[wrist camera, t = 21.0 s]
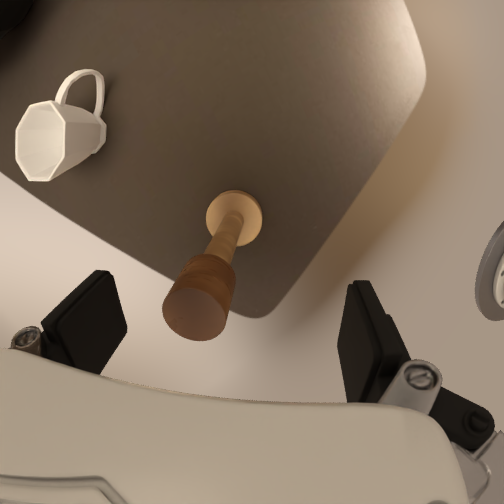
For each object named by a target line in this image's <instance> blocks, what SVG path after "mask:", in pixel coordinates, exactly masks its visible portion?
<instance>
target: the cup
mask: <svg viewBox="0 0 504 504" xmlns="http://www.w3.org/2000/svg"><path fill="white" fill-rule="evenodd" d="M89 74H93V75H94V76H95V77H96V83H97V101H96V108H95V111H94V113H93V114H92V113H90V112H88V111H86V110H84V109H82V108H79V107H75V106H71V105H67V104H65V100H66V96H67V93H68V89H69V87H70V86H71V85H72V83H73V82H75V81H76V80H77V79H79V78H80V77H81V76H84V75H89ZM103 104H104V79H103V76H102V75H101V74H100V73H99V72H98V71H95V70H91V69H83V70H79V71H75V72H74V73H73V74H71V75H70V76H68V77H67V78H66V79H65V80H64V82H63V83H62V85H61V86H60V88H59V91H58V93H57V95H56V98H55V101H51V100H50V101H46V102H41V103H36V104H32V105H29V107H28V109H27V110H26V112H25V114H24V116H23V117H22V119H21V121H20V123H19V125H18V126H17V128H16V141H15V154H16V161H17V163H18V165H19V166H20V168H21V169H22V171H23V173H24V174H25V176H26V177H27V179H28V181H50V180H52V179H53V178H55V177H57V176H58V175H60V174H62V173H63V172H65V171H67V170H68V169H70V168H72V167H74V166H76V165H77V164H79V163H81V162H82V161H83V160H84V159H86V158H87V157H88V156H90V155H91V154H94V153H96V152H97V151H98V150H99V149H100V148H101V146H102V145H103V144H104V143H105V142H106V126H107V125H106V124H105V122H104V121H103V120H102V119H101V117H100V115H101V113H102V110H103Z"/></svg>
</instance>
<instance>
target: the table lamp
mask: <svg viewBox="0 0 504 504" xmlns="http://www.w3.org/2000/svg"><path fill="white" fill-rule="evenodd" d="M33 1H34V0H0V39H2V38H3V37H4V36H5V35H6V34H7V33H8V32H9V31H11V30H12V29H13V28H14V27H15V26H17V25H18V24H19V23H20V22H21V21H22V20H23V19H24V17H25V15H26V14H27V12H28V10H29V9H30V7H31V6H32V4H33Z"/></svg>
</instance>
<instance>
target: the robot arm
mask: <svg viewBox="0 0 504 504" xmlns="http://www.w3.org/2000/svg"><path fill="white" fill-rule="evenodd" d="M493 295H494V299H495V301H496V302H497V303H498V304H499V306H501V307H502V308H504V253H503V255H502V257H501V259H500V262H499V264H498V267H497V269H496V272H495V277H494V282H493ZM41 325H42V327H43V329H44V331H43V332H42V333H41V331H40V329H39V328H37V327H35V326H30V327H26V328H23V329H21V330H20V331H18V332H17V333H16V334H15V336H14V337H13V339H12V342H11V348H8V349H6V348H5V349H4V348H3V349H0V504H504V433H503V432H502V431H501V430H500V431H499V432H498V433H497V432H496V431H494V427H495V424H494V419H493V417H492V415H491V414H490V413H489V411H488V410H486V409H485V408H483V407H481V406H479V405H477V404H475V403H473V402H471V401H469V400H467V399H465V398H463V397H461V396H459V395H457V394H455V393H453V392H451V391H449V390H447V389H445V388H443V387H441V384H442V375H441V373H440V371H439V370H438V368H437V367H436V366H434V365H433V364H431V363H430V362H428V361H424V360H417V359H415V360H411V358H410V356H409V354H408V351H407V349H406V347H405V345H404V342H403V340H402V338H401V336H400V334H399V332H398V329H397V327H396V325H395V323H394V321H393V319H392V317H391V316H390V315H389V314H386V313H385V311H384V309H383V307H382V305H381V303H380V301H379V299H378V297H377V295H376V293H375V291H374V289H373V287H372V285H371V283H370V281H367V280H355V281H354V282H353V284H349V285H348V288H347V295H346V300H345V306H344V311H343V317H342V322H341V327H340V332H339V337H338V343H337V348H338V354H339V358H340V364H341V369H342V375H343V380H344V386H345V392H346V398H347V403H297V402H271V401H270V402H269V401H253V400H240V399H229V398H220V397H210V396H202V395H195V394H188V393H182V392H176V391H170V390H164V389H159V388H154V387H149V386H144V385H139V384H134V383H129V382H125V381H121V380H117V379H112V378H109V377H105V376H101V375H100V373H101V372H102V370H103V369H104V367H105V365H106V364H107V362H108V361H109V359H110V358H111V356H112V354H113V353H114V352H115V350H116V349H117V347H118V345H119V344H120V343H121V341H122V340H123V338H124V337H125V335H126V333H127V324H126V321H125V317H124V314H123V311H122V307H121V303H120V300H119V296H118V292H117V288H116V284H115V281H114V277H113V275H111V274H110V272H109V271H105V270H96V271H94V272H93V273H92V274H91V275H90V276H89V277H88V278H86V279H85V280H84V281H83V282H82V283H81V284H80V285H79V286H78V287H77V288H75V289H74V290H73V291H72V292H71V293H70V294H69V295H68V296H67V297H66V298H65V299H64V300H63V301H62V302H61V303H60V304H59V305H58V306H57V307H55V308H54V309H53V311H52V312H50V313H49V314H48V315H47V316H46V318H44V319H43V320H42V321H41Z"/></svg>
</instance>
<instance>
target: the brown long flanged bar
mask: <svg viewBox="0 0 504 504" xmlns="http://www.w3.org/2000/svg"><path fill="white" fill-rule="evenodd" d="M262 218H263V217H262V210H261V207H260V205H259V203H258V202H257V200H256V199H255V198H254V197H253V196H251V195H250V194H248V193H246V192H243V191H240V190H230V191H226V192H223V193H221V194H220V195H218V196H217V197H216V198H215V199H214V200H213V201H212V203H211V204H210V206H209V208H208V210H207V214H206V224H207V227H208V230H209V232H210V233H211V235H212V236H213V237H212V239H211V241H210V243H209V245H208V247H207V248H206V250H205V252H204V254H200V255H197V256H194V257H192V258H191V259H190V260H189V261H188V262H187V263H186V265H185V266H184V268H183V269H182V271H181V273H180V274H179V276H178V278H177V279H176V281H175V283H174V284H173V286H172V288H171V290H170V291H169V293H168V294H167V296H166V298H165V299H164V302H163V306H162V312H163V317H164V319H165V321H166V323H167V324H168V326H169V327H170V328H171V329H172V330H173V331H174V332H175V333H177V334H179V335H180V336H182V337H184V338H187V339H190V340H194V341H207V340H211V339H213V338H215V337H217V336H218V335H219V334H220V333H221V332H222V331H223V329H224V328H225V325H226V320H227V316H228V312H229V308H230V304H231V300H232V296H233V292H234V288H235V284H236V277H235V273H234V271H233V269H232V267H231V266H230V264H231V261H232V257H233V254H234V251H235V248H236V246H242V245H245V244H248V243H249V242H251V241H252V240H254V239H255V238H256V236H257V235H258V233H259V232H260V229H261V226H262Z"/></svg>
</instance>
